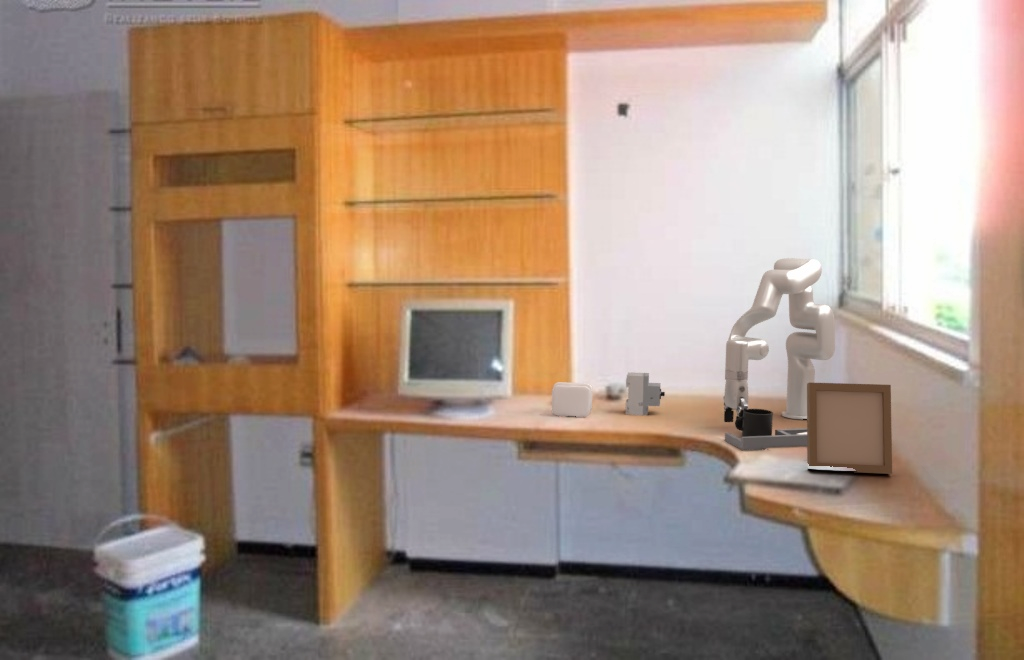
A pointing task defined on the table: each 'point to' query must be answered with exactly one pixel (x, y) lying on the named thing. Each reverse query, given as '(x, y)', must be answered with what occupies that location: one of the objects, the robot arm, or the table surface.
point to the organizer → (770, 440)
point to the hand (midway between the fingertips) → (734, 424)
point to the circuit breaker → (641, 393)
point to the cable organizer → (571, 399)
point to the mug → (756, 422)
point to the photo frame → (849, 426)
